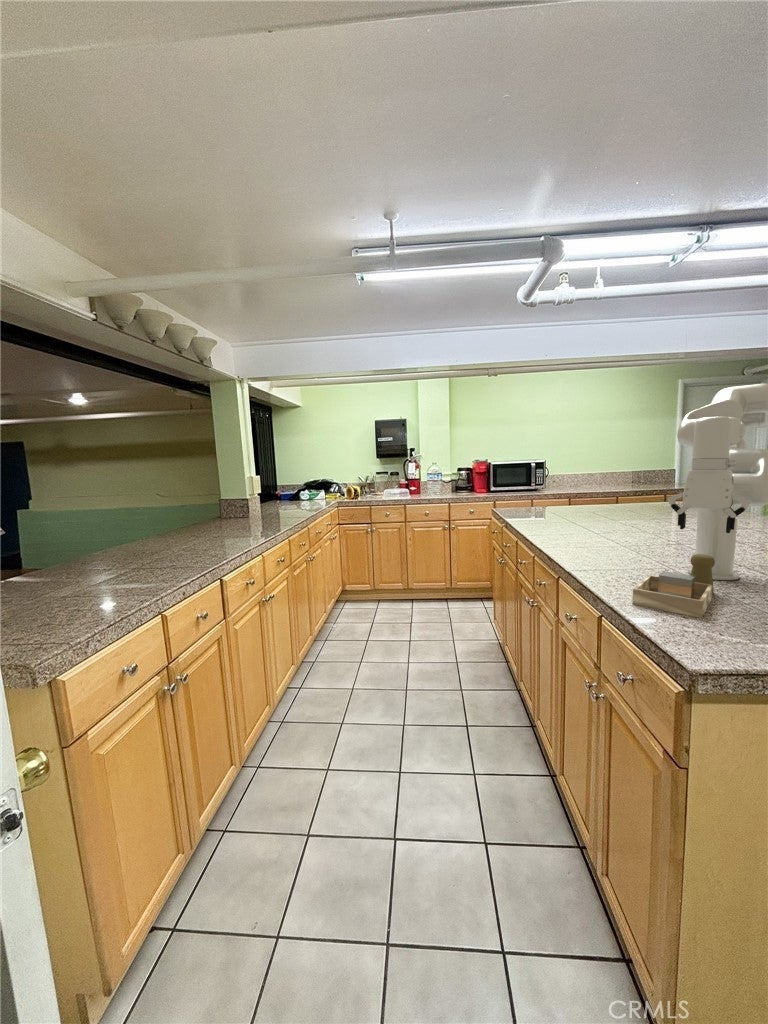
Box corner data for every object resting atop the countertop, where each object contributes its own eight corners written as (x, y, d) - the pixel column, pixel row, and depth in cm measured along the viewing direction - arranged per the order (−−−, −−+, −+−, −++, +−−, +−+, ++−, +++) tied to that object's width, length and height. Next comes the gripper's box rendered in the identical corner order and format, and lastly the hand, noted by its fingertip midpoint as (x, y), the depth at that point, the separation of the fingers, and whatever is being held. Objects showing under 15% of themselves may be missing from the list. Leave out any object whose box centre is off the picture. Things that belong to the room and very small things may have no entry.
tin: (661, 592, 112) (663, 570, 111) (693, 598, 107) (695, 575, 106) (657, 597, 108) (658, 575, 107) (690, 603, 103) (692, 580, 102)
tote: (648, 590, 115) (649, 575, 114) (711, 601, 105) (712, 584, 105) (632, 606, 104) (633, 588, 103) (701, 620, 94) (702, 601, 93)
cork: (719, 598, 107) (722, 557, 106) (693, 597, 109) (696, 557, 107) (706, 591, 113) (709, 552, 112) (681, 590, 114) (684, 552, 113)
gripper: (755, 464, 103) (749, 532, 105) (672, 465, 115) (668, 525, 117) (753, 465, 98) (746, 536, 100) (666, 466, 110) (662, 529, 112)
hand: (704, 530), depth 108 cm, fingers open, 9 cm apart
